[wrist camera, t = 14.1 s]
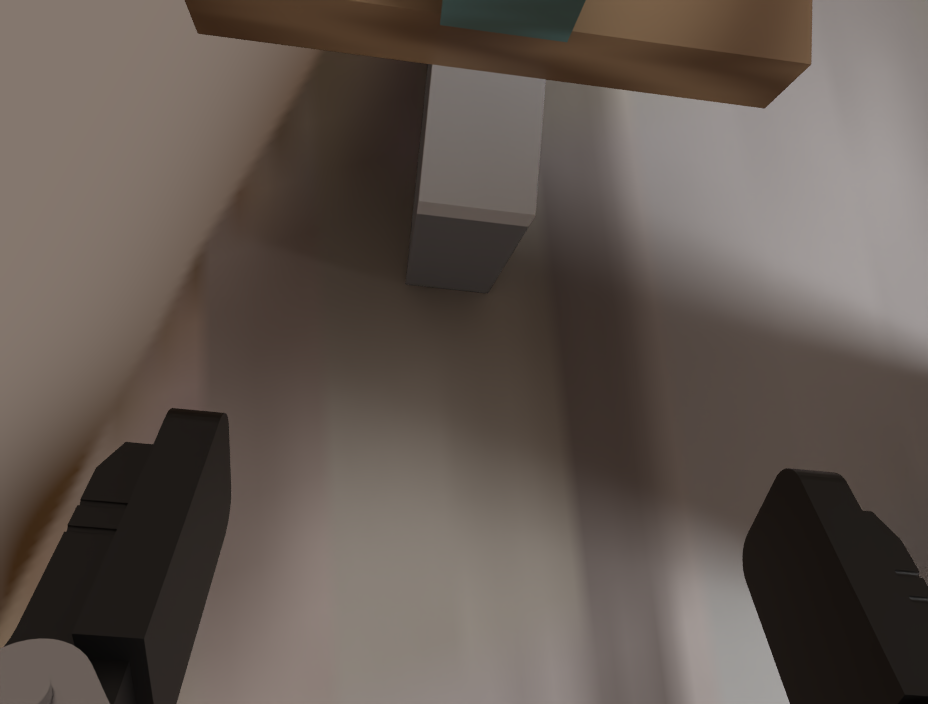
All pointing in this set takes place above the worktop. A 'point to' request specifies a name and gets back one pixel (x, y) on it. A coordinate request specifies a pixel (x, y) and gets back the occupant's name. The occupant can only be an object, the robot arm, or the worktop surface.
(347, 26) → the beam
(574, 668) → the worktop surface
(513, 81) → the block
